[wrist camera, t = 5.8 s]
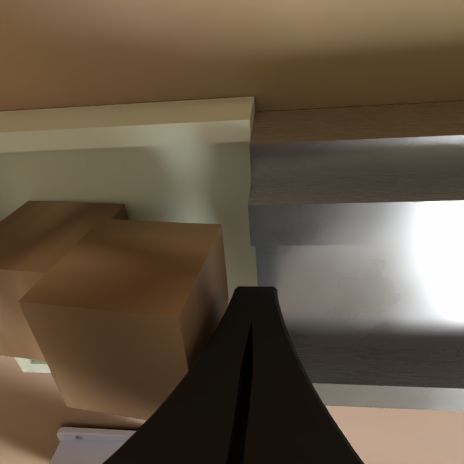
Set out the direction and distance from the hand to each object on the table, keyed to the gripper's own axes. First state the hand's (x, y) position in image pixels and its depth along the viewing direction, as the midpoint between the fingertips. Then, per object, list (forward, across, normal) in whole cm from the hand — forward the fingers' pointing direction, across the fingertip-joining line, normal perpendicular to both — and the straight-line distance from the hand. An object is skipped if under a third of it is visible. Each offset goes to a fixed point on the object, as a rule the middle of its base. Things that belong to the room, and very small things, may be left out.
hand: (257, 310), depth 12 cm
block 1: (+1, +5, 0) cm, 5 cm away
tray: (+4, +6, 0) cm, 7 cm away
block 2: (+1, +3, 0) cm, 3 cm away
